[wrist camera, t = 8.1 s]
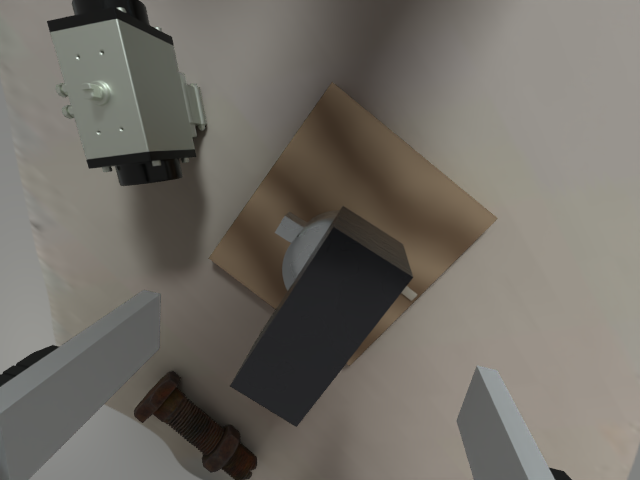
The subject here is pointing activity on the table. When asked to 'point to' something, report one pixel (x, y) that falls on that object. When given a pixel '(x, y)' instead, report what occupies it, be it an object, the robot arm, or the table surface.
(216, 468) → the bolt
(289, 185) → the base
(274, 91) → the table surface
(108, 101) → the pneumatic valve
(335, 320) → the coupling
